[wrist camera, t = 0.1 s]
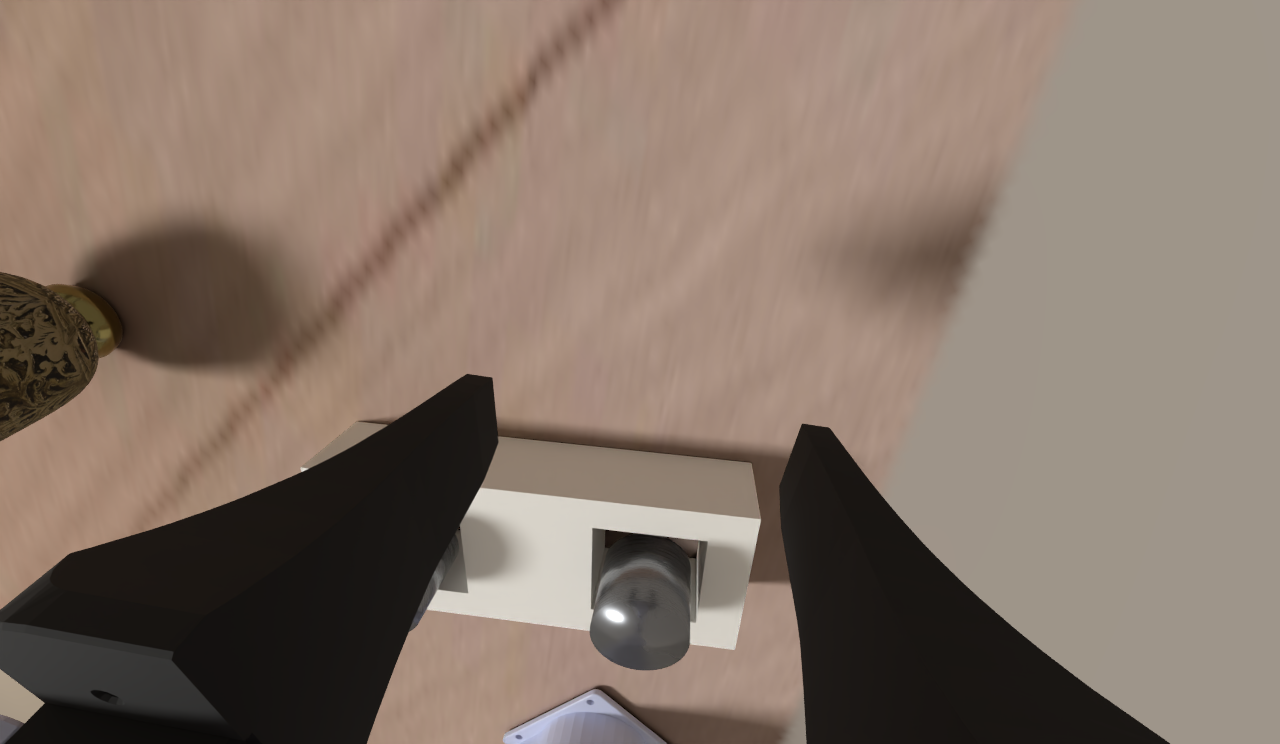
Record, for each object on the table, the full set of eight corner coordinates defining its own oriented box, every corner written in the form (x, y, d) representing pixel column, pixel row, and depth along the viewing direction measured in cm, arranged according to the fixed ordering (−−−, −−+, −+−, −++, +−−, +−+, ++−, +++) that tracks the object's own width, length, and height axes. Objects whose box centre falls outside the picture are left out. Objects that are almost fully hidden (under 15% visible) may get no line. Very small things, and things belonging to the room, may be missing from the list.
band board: (382, 540, 29) (337, 597, 25) (356, 421, 26) (300, 467, 22) (729, 583, 28) (734, 650, 24) (751, 462, 24) (761, 519, 21)
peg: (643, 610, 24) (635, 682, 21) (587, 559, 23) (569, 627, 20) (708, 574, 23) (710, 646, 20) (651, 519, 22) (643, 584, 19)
